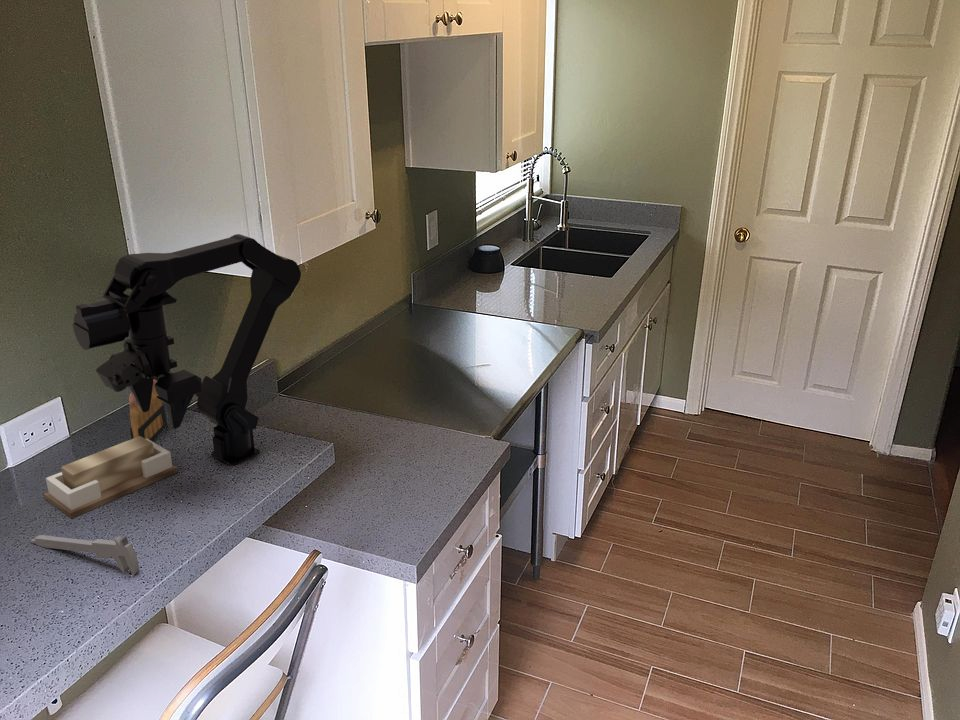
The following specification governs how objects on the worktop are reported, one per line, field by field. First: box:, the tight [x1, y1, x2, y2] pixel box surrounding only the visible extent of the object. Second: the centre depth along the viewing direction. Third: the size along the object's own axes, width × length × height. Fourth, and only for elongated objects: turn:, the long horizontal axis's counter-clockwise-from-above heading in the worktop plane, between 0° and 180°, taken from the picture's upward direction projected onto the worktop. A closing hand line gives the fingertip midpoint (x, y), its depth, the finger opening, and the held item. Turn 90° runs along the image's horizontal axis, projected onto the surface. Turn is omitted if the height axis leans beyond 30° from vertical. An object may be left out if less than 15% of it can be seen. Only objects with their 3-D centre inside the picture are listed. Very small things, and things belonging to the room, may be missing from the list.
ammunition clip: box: [128, 379, 168, 443], centre depth 148 cm, size 11×2×12 cm, turn 176°
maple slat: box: [60, 436, 154, 491], centre depth 134 cm, size 14×4×5 cm, turn 143°
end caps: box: [45, 439, 173, 510], centre depth 134 cm, size 18×8×3 cm, turn 142°
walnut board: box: [43, 463, 179, 519], centre depth 135 cm, size 19×9×1 cm, turn 142°
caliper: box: [29, 534, 140, 576], centre depth 116 cm, size 20×1×6 cm, turn 69°
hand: (160, 419), depth 132 cm, fingers open, 9 cm apart
